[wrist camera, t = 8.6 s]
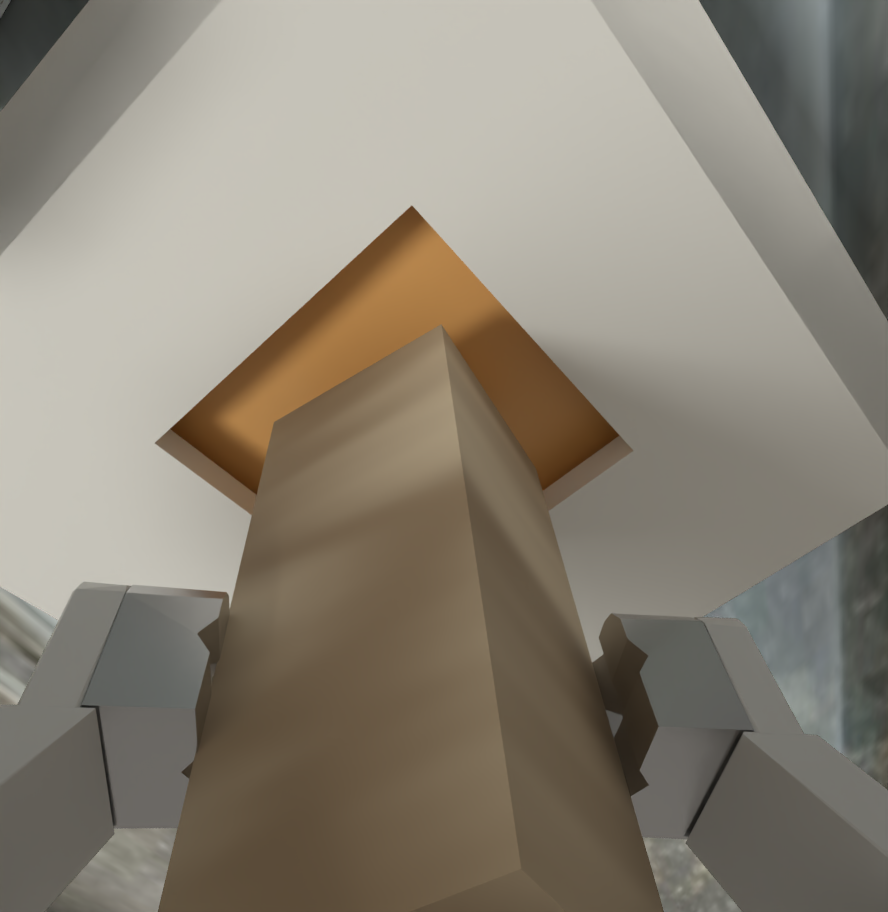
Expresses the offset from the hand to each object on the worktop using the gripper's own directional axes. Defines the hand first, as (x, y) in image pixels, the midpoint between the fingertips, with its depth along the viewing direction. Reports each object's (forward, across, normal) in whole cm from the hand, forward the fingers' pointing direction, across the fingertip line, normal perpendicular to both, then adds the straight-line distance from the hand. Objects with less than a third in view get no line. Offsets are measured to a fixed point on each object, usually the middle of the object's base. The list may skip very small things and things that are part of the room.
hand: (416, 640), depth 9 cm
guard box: (+11, 0, 0) cm, 11 cm away
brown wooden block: (+4, 0, 0) cm, 4 cm away
